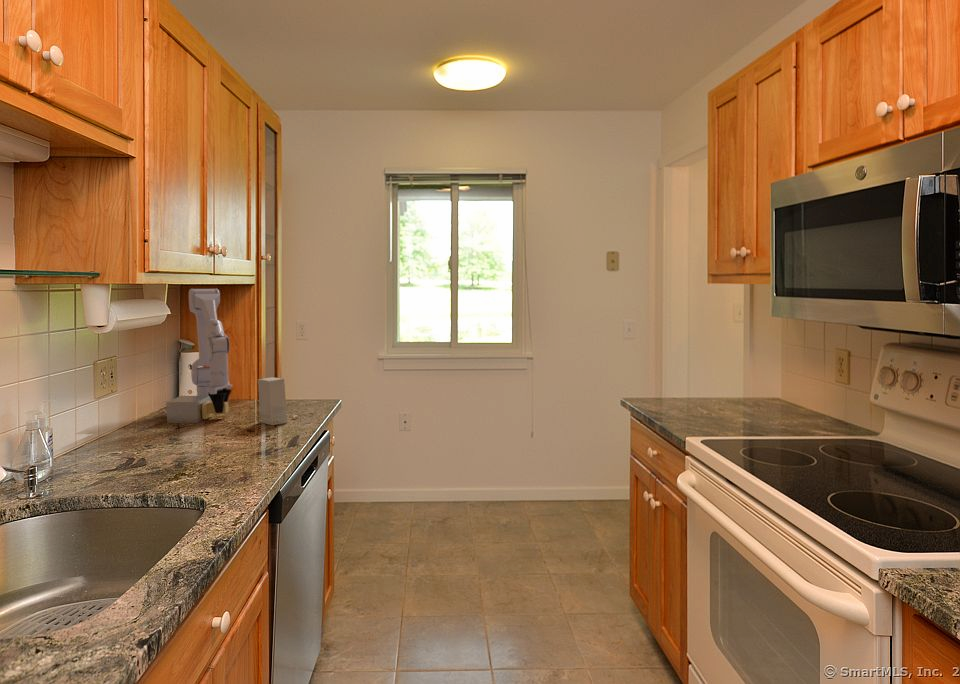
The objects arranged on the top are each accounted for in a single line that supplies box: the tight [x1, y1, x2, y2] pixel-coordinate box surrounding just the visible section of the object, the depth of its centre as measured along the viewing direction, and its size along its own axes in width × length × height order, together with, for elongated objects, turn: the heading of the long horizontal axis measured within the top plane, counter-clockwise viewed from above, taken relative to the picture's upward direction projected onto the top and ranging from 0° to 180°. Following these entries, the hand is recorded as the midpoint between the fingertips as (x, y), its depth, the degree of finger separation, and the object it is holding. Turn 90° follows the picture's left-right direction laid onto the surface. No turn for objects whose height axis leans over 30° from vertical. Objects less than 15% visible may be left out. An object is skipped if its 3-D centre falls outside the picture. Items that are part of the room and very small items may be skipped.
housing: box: [166, 395, 210, 424], centre depth 223 cm, size 12×10×7 cm
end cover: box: [202, 401, 230, 420], centre depth 223 cm, size 6×15×5 cm, turn 93°
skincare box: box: [257, 377, 288, 426], centre depth 217 cm, size 8×6×15 cm
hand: (220, 411), depth 224 cm, fingers closed on end cover, 3 cm apart
